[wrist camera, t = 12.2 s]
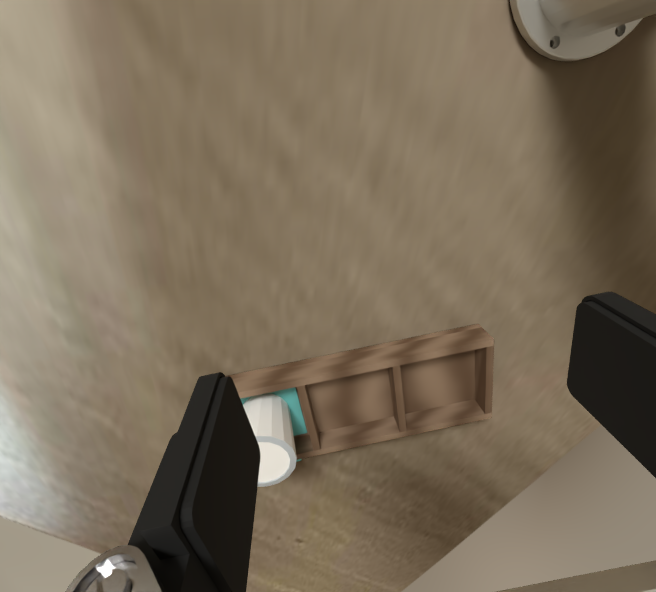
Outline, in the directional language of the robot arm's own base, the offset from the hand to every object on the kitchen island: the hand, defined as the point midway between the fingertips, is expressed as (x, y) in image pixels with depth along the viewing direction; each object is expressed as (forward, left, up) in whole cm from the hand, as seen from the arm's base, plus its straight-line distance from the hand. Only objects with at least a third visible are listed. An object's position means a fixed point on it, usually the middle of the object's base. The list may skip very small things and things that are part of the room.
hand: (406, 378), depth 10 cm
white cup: (+10, +22, -25) cm, 35 cm away
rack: (0, +22, -26) cm, 34 cm away
